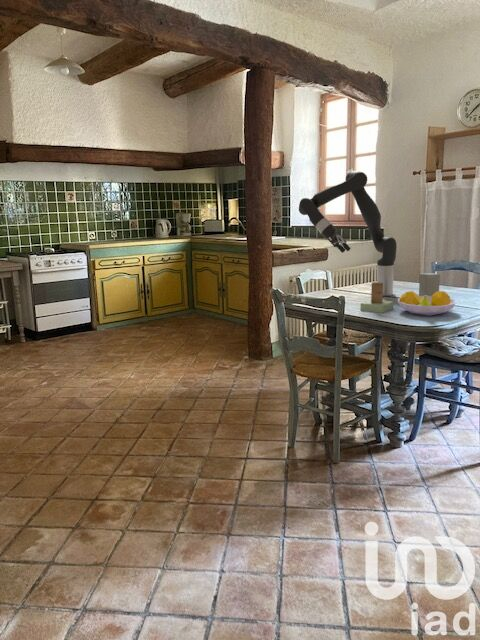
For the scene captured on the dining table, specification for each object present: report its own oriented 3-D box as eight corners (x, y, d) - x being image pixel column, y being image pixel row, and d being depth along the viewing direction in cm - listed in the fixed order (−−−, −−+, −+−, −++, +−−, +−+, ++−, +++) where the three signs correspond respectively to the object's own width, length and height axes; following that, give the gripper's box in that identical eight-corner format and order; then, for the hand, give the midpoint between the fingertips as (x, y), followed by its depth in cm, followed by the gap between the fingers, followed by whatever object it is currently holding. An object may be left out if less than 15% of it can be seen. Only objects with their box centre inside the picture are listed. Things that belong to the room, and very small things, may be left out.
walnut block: (372, 301, 262) (372, 282, 260) (382, 301, 260) (383, 282, 258) (371, 303, 258) (371, 283, 256) (381, 303, 256) (381, 283, 254)
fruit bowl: (408, 305, 268) (409, 283, 265) (462, 310, 251) (464, 288, 248) (386, 315, 247) (386, 291, 244) (443, 322, 230) (445, 297, 227)
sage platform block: (371, 306, 269) (371, 299, 268) (392, 309, 261) (393, 301, 260) (360, 310, 260) (360, 303, 259) (382, 313, 252) (382, 305, 251)
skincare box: (425, 305, 266) (427, 274, 263) (417, 302, 273) (418, 273, 270) (439, 303, 269) (441, 273, 265) (431, 301, 275) (432, 272, 272)
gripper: (326, 224, 262) (347, 247, 259) (335, 222, 274) (356, 244, 271) (316, 234, 266) (337, 257, 263) (326, 232, 278) (346, 254, 275)
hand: (346, 250), depth 267 cm, fingers open, 8 cm apart
